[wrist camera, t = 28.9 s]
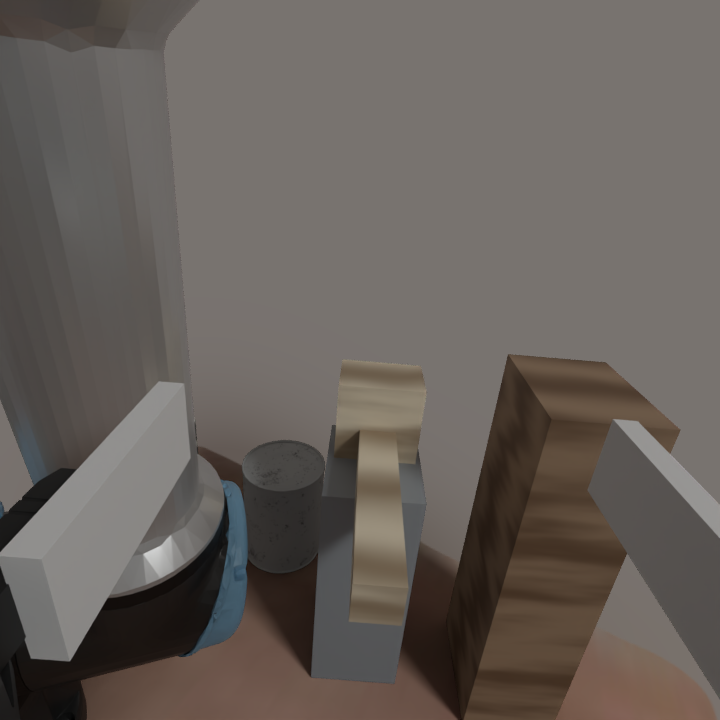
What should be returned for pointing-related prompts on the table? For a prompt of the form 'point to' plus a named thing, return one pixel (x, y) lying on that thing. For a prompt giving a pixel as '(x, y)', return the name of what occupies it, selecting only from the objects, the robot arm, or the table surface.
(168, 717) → the table surface
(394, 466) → the tan wooden bar
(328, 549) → the grey pedestal
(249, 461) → the concrete cylinder
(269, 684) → the table surface
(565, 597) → the walnut plinth
